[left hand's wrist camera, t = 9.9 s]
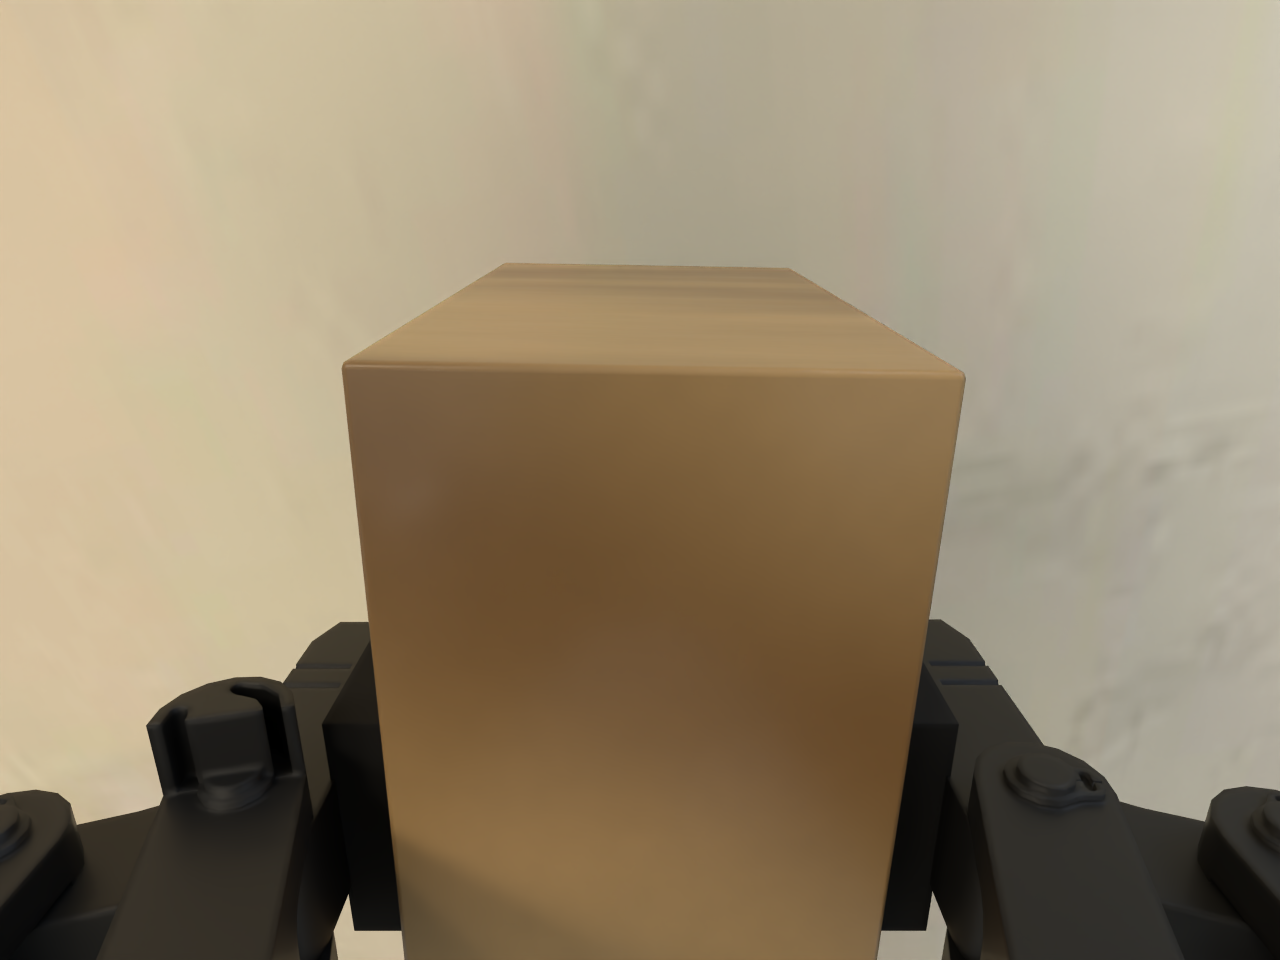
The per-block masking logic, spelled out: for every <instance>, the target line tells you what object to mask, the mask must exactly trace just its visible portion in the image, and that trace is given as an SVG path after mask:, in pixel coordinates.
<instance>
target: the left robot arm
mask: <svg viewBox="0 0 1280 960" xmlns="http://www.w3.org/2000/svg"><path fill="white" fill-rule="evenodd" d="M146 727H147V731H148V735H149V739H150V743H151V747H152V751H153V755H154V759H155V763H156V767H157V771H158V775H159V779H160V783H161V788H162V792H163V798H162V801H161V803H160V805H159V806H156V807H153V808H149V809H146V810H142V811H139V812H134V813H130V814H125V815H120V816H116V817H111V818H107V819H102V820H98V821H93V822H88V823H84V824H79V825H76V821H75V818H74V815H73V811H72V808H71V804H70V803H69V802H68V801H67V800H65V799H64V798H63V797H62V796H61V795H59V794H58V793H53V792H47V791H40V790H30V791H22V792H14V793H6V794H3V795H0V960H338V956H337V949H336V943H335V937H334V928H335V926H336V924H337V921H338V919H339V916H340V914H341V911H342V909H343V906H344V904H345V901H346V899H347V896H348V894H349V899H350V906H351V912H352V918H353V924H354V931H402V930H401V921H400V911H399V902H398V892H397V883H396V874H395V864H394V855H393V845H392V836H391V827H390V817H389V808H388V798H387V789H386V780H385V770H384V761H383V751H382V742H381V733H380V723H379V714H378V704H377V695H376V686H375V676H374V667H373V657H372V648H371V639H370V629H369V622H340V623H338V624H337V625H335V626H334V627H333V628H331V629H330V630H328V631H327V632H325V633H324V634H322V635H321V636H319V637H318V638H317V639H315V640H314V641H312V642H311V644H310V645H309V647H308V648H307V650H306V651H305V652H304V654H303V655H302V657H301V658H300V660H299V661H298V662H297V664H296V669H293V670H292V671H291V672H290V674H289V675H288V677H287V678H286V680H285V681H284V682H283V683H282V682H280V681H276V680H272V679H267V678H263V677H236V678H231V679H226V680H222V681H217V682H213V683H208V684H206V685H203V686H201V687H198V688H196V689H194V690H191V691H189V692H186V693H184V694H181V695H180V696H178V697H177V698H175V699H174V700H173V701H171V702H170V703H168V704H167V705H165V706H164V707H162V708H161V709H159V711H158V712H157V713H156V714H155V715H154V717H153V718H152V719H151V720H150V722H149V723H148V724H147V725H146ZM932 891H933V893H934V896H935V898H936V901H937V903H938V905H939V908H940V910H941V913H942V915H943V918H944V920H945V923H946V925H947V931H946V937H945V943H944V949H943V955H942V960H1280V791H1277V790H1272V789H1264V788H1256V787H1248V786H1245V787H1239V788H1232V789H1226V790H1223V791H1222V792H1221V793H1219V794H1218V795H1217V796H1216V797H1215V798H1213V799H1212V800H1211V804H1210V807H1209V810H1208V814H1207V817H1206V820H1205V822H1204V821H1199V820H1195V819H1190V818H1186V817H1181V816H1176V815H1172V814H1167V813H1162V812H1158V811H1153V810H1149V809H1144V808H1140V807H1137V806H1133V805H1130V804H1126V803H1123V802H1119V799H1118V797H1117V794H1116V793H1115V792H1114V790H1113V789H1112V787H1111V786H1110V784H1109V783H1108V782H1107V780H1106V779H1105V777H1104V776H1102V775H1101V774H1100V773H1099V772H1097V771H1096V770H1095V769H1093V768H1092V767H1091V766H1089V765H1088V764H1087V763H1086V762H1084V761H1083V760H1080V759H1078V758H1076V757H1074V756H1072V755H1070V754H1068V753H1066V752H1063V751H1061V750H1059V749H1056V748H1052V747H1048V746H1044V745H1043V743H1042V742H1041V741H1040V739H1039V738H1038V736H1037V735H1036V733H1035V732H1034V731H1033V729H1032V728H1031V726H1030V725H1029V724H1028V722H1027V721H1026V719H1025V718H1024V716H1023V715H1022V714H1021V712H1020V711H1019V709H1018V708H1017V706H1016V705H1015V704H1014V702H1013V701H1012V699H1011V698H1010V696H1009V695H1008V694H1007V692H1006V691H1005V689H1004V688H1003V687H1002V685H998V679H997V678H996V677H995V675H994V674H993V672H992V671H991V669H990V668H989V667H988V666H985V661H984V660H983V658H982V657H981V655H980V654H979V652H978V651H977V650H976V648H975V647H974V645H973V644H972V642H971V641H970V640H969V639H968V638H967V637H965V636H964V635H963V634H961V633H960V632H958V631H957V630H955V629H954V628H952V627H951V626H949V625H948V624H946V623H945V622H944V621H942V620H929V622H928V628H927V635H926V641H925V648H924V654H923V661H922V667H921V674H920V680H919V687H918V694H917V700H916V707H915V713H914V720H913V726H912V733H911V739H910V746H909V752H908V759H907V765H906V772H905V778H904V785H903V791H902V798H901V804H900V811H899V818H898V824H897V831H896V837H895V844H894V850H893V857H892V863H891V870H890V876H889V883H888V889H887V896H886V902H885V909H884V915H883V922H882V928H881V931H926V928H927V922H928V915H929V909H930V903H931V897H932Z"/></svg>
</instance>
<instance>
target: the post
mask: <svg viewBox="0 0 1280 960" xmlns="http://www.w3.org/2000/svg"><path fill="white" fill-rule="evenodd" d="M342 376H343V385H344V394H345V404H346V413H347V423H348V432H349V441H350V451H351V460H352V470H353V479H354V488H355V498H356V507H357V517H358V526H359V535H360V545H361V554H362V564H363V573H364V582H365V592H366V601H367V611H368V620H369V629H370V639H371V648H372V657H373V667H374V676H375V686H376V695H377V704H378V714H379V723H380V733H381V742H382V751H383V761H384V770H385V780H386V789H387V798H388V808H389V817H390V827H391V836H392V845H393V855H394V864H395V874H396V883H397V892H398V902H399V911H400V921H401V930H402V939H403V949H404V958H405V960H877V955H878V948H879V941H880V935H881V928H882V922H883V915H884V909H885V902H886V896H887V889H888V883H889V876H890V870H891V863H892V857H893V850H894V844H895V837H896V831H897V824H898V818H899V811H900V804H901V798H902V791H903V785H904V778H905V772H906V765H907V759H908V752H909V746H910V739H911V733H912V726H913V720H914V713H915V707H916V700H917V694H918V687H919V680H920V674H921V667H922V661H923V654H924V648H925V641H926V635H927V628H928V622H929V615H930V609H931V602H932V596H933V589H934V583H935V576H936V570H937V563H938V557H939V550H940V543H941V537H942V530H943V524H944V517H945V511H946V504H947V498H948V491H949V485H950V478H951V472H952V465H953V459H954V452H955V446H956V439H957V433H958V426H959V419H960V413H961V406H962V400H963V393H964V387H965V380H966V378H965V375H964V373H963V372H962V371H960V370H958V369H957V368H955V367H953V366H952V365H950V364H948V363H947V362H945V361H943V360H942V359H940V358H938V357H937V356H935V355H933V354H932V353H930V352H928V351H927V350H925V349H923V348H922V347H920V346H918V345H917V344H915V343H913V342H912V341H910V340H908V339H907V338H905V337H903V336H902V335H900V334H898V333H897V332H895V331H893V330H892V329H890V328H888V327H887V326H885V325H883V324H882V323H880V322H878V321H877V320H875V319H873V318H872V317H870V316H868V315H867V314H865V313H863V312H862V311H860V310H858V309H857V308H855V307H853V306H852V305H850V304H848V303H847V302H845V301H843V300H842V299H840V298H838V297H837V296H835V295H833V294H832V293H830V292H828V291H827V290H825V289H823V288H822V287H820V286H818V285H817V284H815V283H813V282H812V281H810V280H808V279H807V278H805V277H803V276H802V275H800V274H798V273H797V272H795V271H793V270H791V269H789V268H756V267H700V266H644V265H587V264H531V263H505V264H503V265H501V266H499V267H498V268H496V269H495V270H493V271H491V272H490V273H488V274H486V275H485V276H483V277H482V278H480V279H478V280H477V281H475V282H473V283H472V284H470V285H469V286H467V287H465V288H464V289H462V290H460V291H459V292H457V293H455V294H454V295H452V296H451V297H449V298H447V299H446V300H444V301H442V302H441V303H439V304H438V305H436V306H434V307H433V308H431V309H429V310H428V311H426V312H425V313H423V314H421V315H420V316H418V317H416V318H415V319H413V320H412V321H410V322H408V323H407V324H405V325H403V326H402V327H400V328H399V329H397V330H395V331H394V332H392V333H390V334H389V335H387V336H386V337H384V338H382V339H381V340H379V341H377V342H376V343H374V344H372V345H371V346H369V347H368V348H366V349H364V350H363V351H361V352H359V353H358V354H356V355H355V356H353V357H351V358H350V359H348V360H346V361H345V362H344V363H343V366H342Z"/></svg>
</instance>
